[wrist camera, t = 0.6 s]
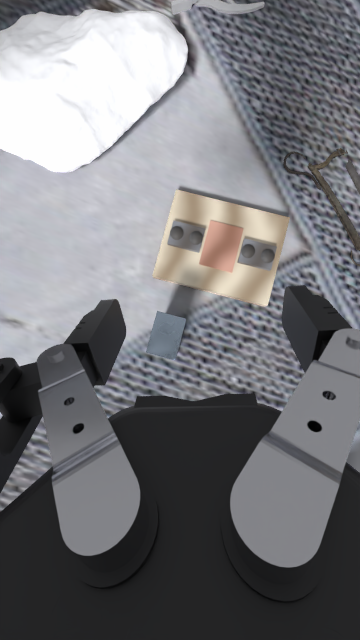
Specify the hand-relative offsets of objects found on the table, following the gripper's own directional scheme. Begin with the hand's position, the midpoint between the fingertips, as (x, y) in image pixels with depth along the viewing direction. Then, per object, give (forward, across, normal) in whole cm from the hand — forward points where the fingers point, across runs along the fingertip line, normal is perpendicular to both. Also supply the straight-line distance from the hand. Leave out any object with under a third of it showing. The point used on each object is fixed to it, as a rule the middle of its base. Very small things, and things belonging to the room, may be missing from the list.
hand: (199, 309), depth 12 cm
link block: (+21, +6, +16) cm, 27 cm away
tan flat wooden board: (+29, -3, +6) cm, 30 cm away
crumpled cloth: (+42, +18, -16) cm, 49 cm away
